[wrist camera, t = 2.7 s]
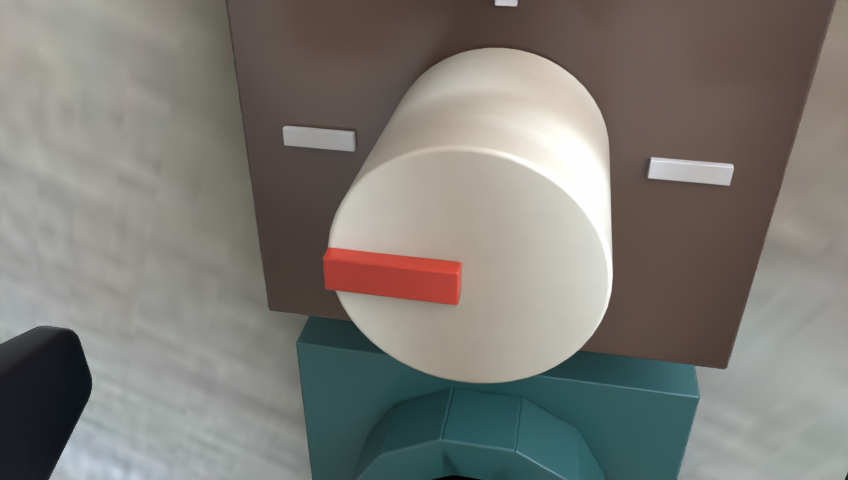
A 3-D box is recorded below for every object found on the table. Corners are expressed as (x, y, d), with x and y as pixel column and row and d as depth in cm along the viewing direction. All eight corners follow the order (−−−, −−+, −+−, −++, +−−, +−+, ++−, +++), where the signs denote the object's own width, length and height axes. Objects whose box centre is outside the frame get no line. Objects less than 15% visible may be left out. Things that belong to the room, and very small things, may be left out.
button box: (693, 350, 19) (710, 456, 16) (642, 545, 23) (648, 657, 20) (315, 303, 20) (269, 391, 18) (334, 493, 25) (299, 589, 22)
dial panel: (818, -132, 13) (873, -106, 10) (709, 286, 18) (728, 376, 15) (272, -145, 15) (201, -125, 12) (310, 241, 19) (265, 316, 17)
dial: (624, 54, 12) (635, 173, 9) (594, 255, 14) (593, 416, 11) (388, 39, 13) (308, 143, 9) (393, 234, 15) (329, 379, 12)
